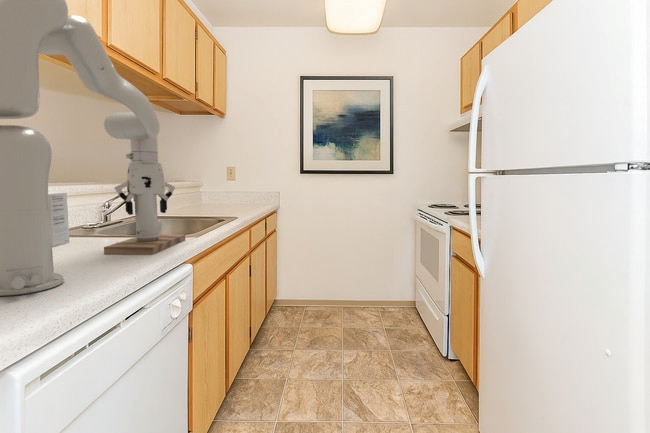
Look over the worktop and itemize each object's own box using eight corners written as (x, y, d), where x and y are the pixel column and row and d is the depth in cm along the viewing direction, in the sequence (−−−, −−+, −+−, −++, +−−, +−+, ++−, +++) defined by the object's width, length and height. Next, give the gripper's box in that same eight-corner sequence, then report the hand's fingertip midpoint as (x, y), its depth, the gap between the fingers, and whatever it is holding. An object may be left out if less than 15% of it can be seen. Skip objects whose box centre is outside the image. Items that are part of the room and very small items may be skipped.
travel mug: (136, 242, 113) (133, 176, 111) (136, 239, 119) (133, 176, 117) (159, 241, 116) (156, 176, 114) (157, 238, 122) (155, 176, 120)
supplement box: (20, 247, 115) (16, 193, 113) (39, 242, 124) (35, 191, 122) (54, 247, 116) (50, 193, 114) (70, 242, 125) (67, 191, 123)
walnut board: (153, 254, 106) (152, 247, 106) (104, 254, 106) (103, 247, 106) (185, 240, 130) (185, 234, 130) (145, 239, 130) (145, 234, 130)
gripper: (116, 156, 106) (119, 216, 108) (177, 159, 118) (179, 212, 120) (110, 157, 112) (113, 214, 114) (169, 159, 123) (171, 211, 125)
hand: (147, 213), depth 117 cm, fingers open, 9 cm apart
